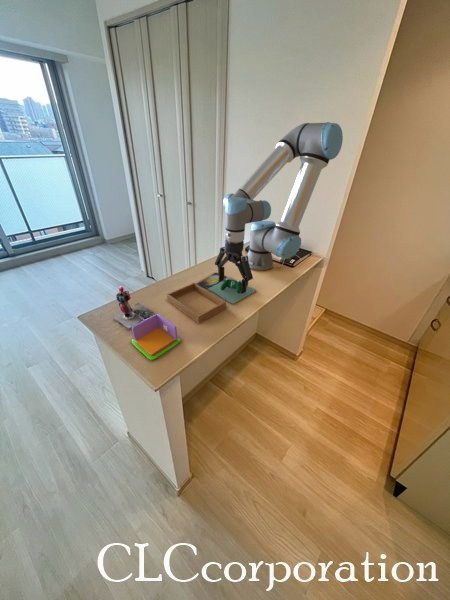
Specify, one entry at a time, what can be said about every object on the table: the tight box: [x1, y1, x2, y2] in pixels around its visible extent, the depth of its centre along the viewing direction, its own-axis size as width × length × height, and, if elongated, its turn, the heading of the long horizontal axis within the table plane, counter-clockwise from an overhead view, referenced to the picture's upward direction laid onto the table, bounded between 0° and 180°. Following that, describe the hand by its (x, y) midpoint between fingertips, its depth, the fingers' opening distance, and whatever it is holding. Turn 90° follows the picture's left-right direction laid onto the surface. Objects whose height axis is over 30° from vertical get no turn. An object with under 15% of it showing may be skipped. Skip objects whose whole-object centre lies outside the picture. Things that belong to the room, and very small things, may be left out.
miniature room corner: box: [131, 313, 181, 361], centre depth 77 cm, size 12×12×7 cm
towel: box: [207, 277, 257, 305], centre depth 107 cm, size 15×16×1 cm
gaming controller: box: [220, 277, 242, 293], centre depth 106 cm, size 9×4×6 cm
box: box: [166, 282, 227, 324], centre depth 97 cm, size 14×20×3 cm
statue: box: [113, 286, 155, 331], centre depth 85 cm, size 11×9×15 cm
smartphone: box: [196, 272, 227, 291], centre depth 114 cm, size 7×1×15 cm
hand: (231, 286), depth 106 cm, fingers open, 13 cm apart
